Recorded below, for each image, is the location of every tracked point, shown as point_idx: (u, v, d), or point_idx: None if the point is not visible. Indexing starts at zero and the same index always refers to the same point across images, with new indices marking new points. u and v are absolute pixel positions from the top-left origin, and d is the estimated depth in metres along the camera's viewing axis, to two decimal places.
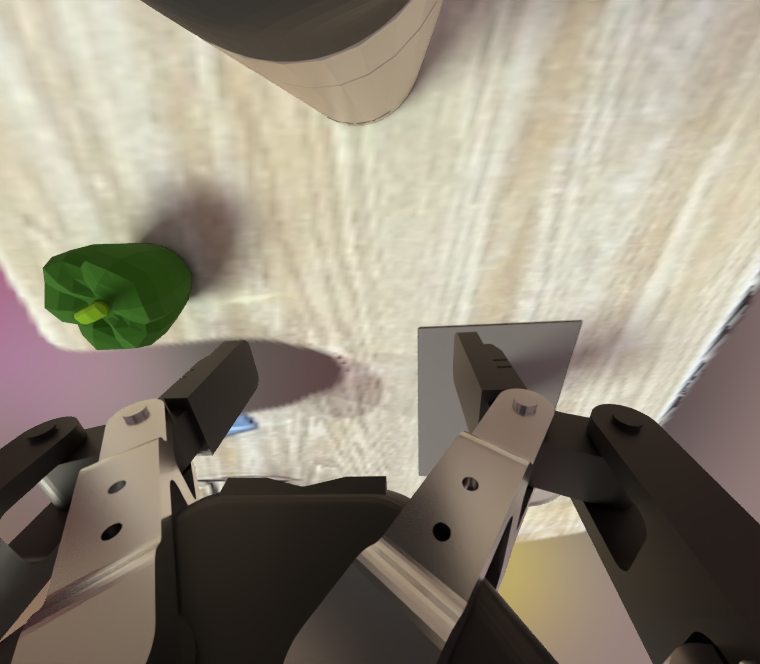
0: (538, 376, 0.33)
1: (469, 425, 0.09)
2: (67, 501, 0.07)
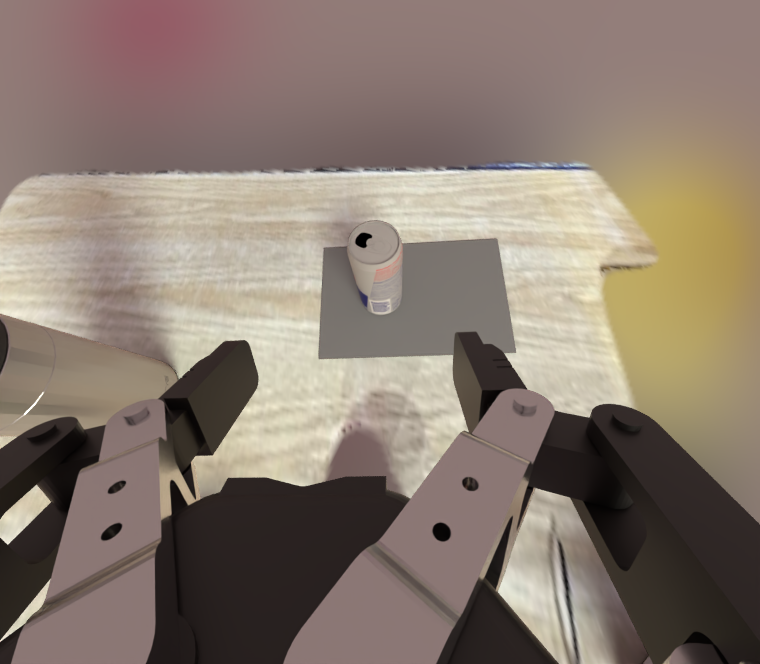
0: None
1: (469, 425, 0.09)
2: (67, 501, 0.07)
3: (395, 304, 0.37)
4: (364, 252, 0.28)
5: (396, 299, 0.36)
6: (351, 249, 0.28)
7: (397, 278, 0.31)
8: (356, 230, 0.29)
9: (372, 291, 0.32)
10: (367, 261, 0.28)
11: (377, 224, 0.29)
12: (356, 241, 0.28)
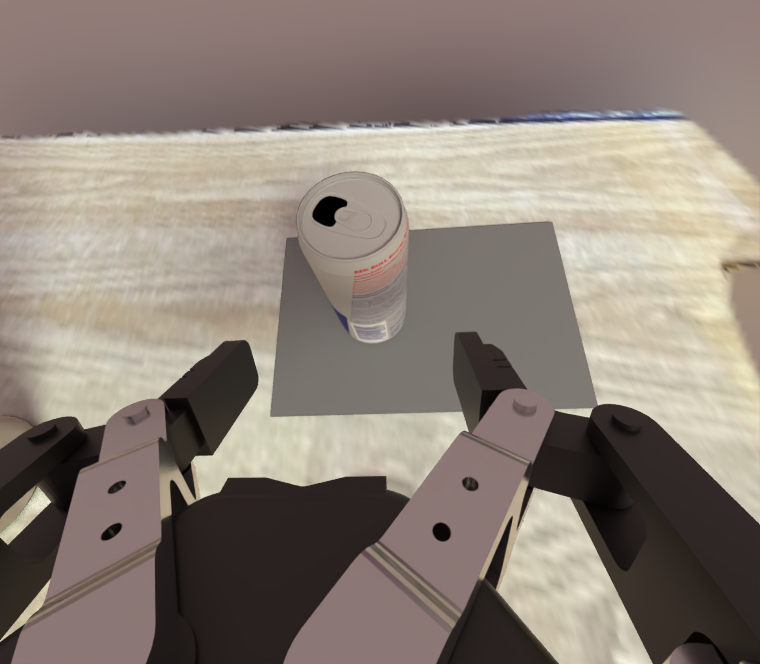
0: None
1: (469, 425, 0.09)
2: (67, 501, 0.07)
3: (396, 327, 0.22)
4: (331, 235, 0.13)
5: (397, 320, 0.21)
6: (303, 229, 0.14)
7: (399, 286, 0.17)
8: (315, 192, 0.14)
9: (352, 309, 0.17)
10: (336, 253, 0.13)
11: (358, 180, 0.14)
12: (314, 212, 0.14)
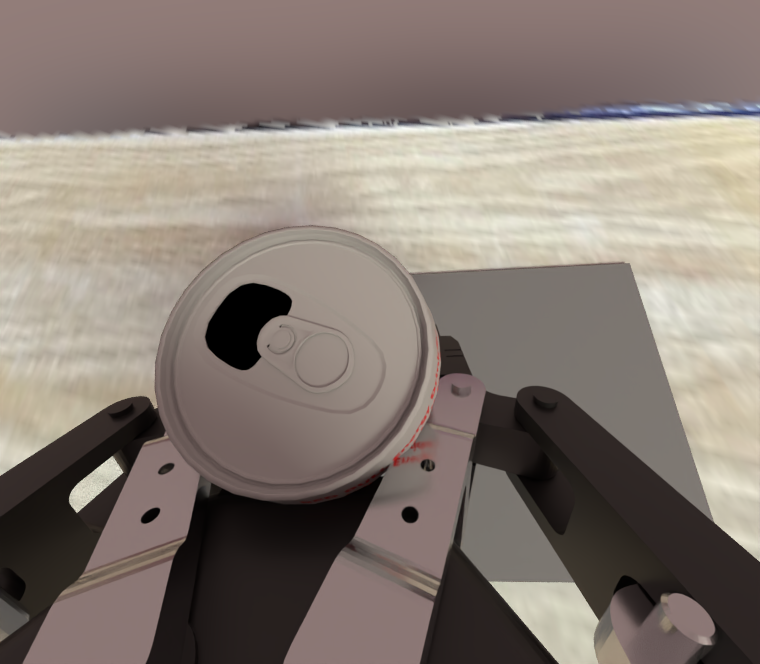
0: None
1: None
2: None
3: None
4: (242, 399, 0.05)
5: None
6: (175, 378, 0.05)
7: None
8: (219, 275, 0.06)
9: None
10: (250, 458, 0.05)
11: (319, 244, 0.06)
12: (212, 327, 0.06)
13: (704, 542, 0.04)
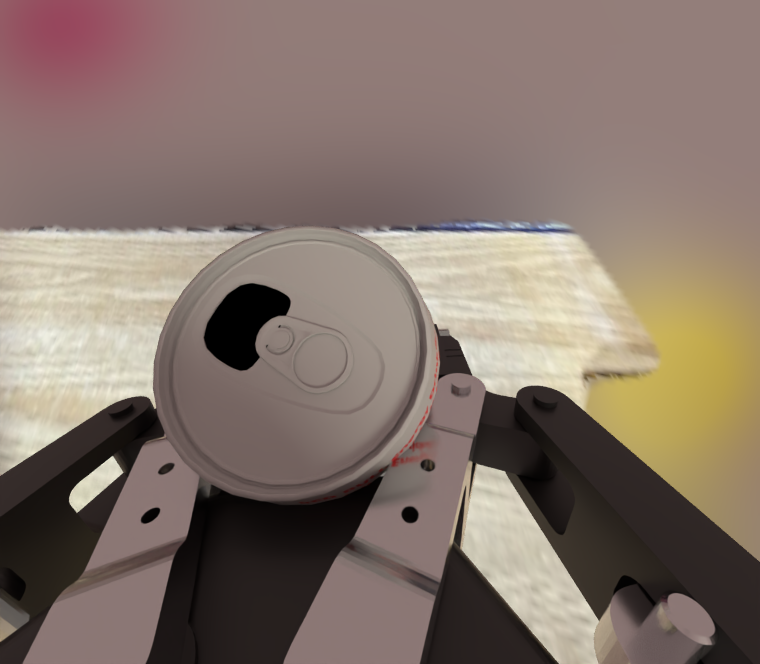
0: None
1: None
2: None
3: None
4: (241, 399, 0.05)
5: None
6: (174, 379, 0.05)
7: None
8: (217, 275, 0.06)
9: None
10: (248, 459, 0.05)
11: (318, 244, 0.06)
12: (211, 327, 0.06)
13: (704, 542, 0.04)
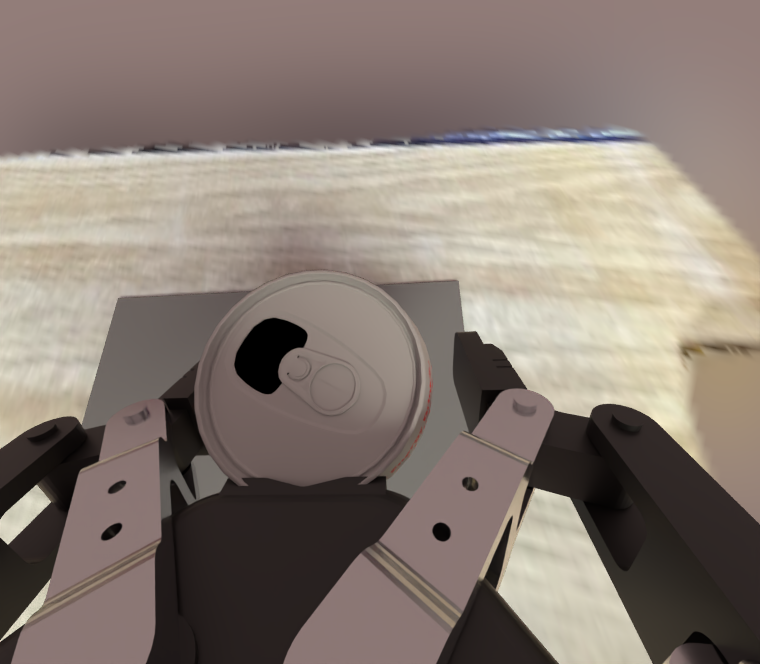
0: (200, 331, 0.20)
1: (469, 425, 0.09)
2: (67, 501, 0.07)
3: None
4: (267, 419, 0.06)
5: None
6: (210, 400, 0.06)
7: None
8: (245, 310, 0.07)
9: None
10: (273, 470, 0.06)
11: (331, 285, 0.07)
12: (240, 356, 0.07)
13: None
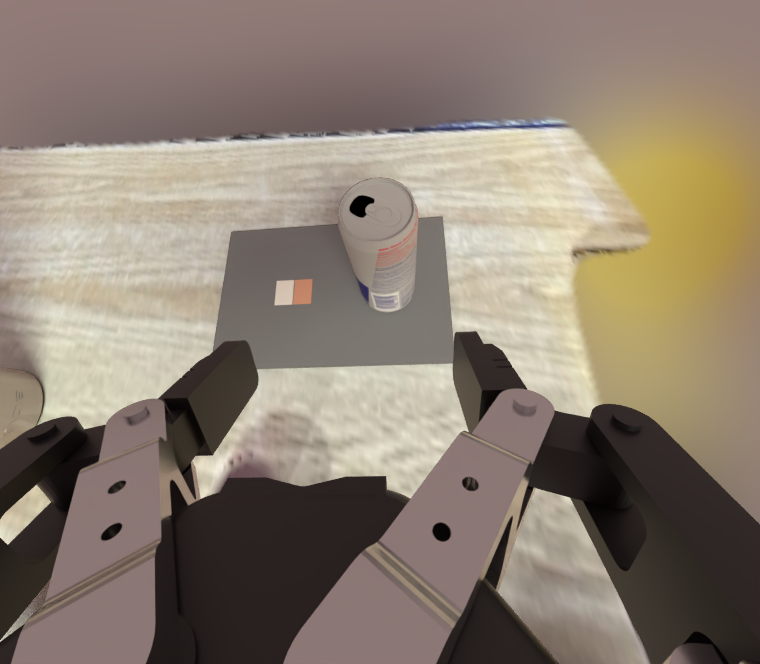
0: (285, 249, 0.33)
1: (469, 425, 0.09)
2: (67, 501, 0.07)
3: (406, 299, 0.28)
4: (362, 224, 0.19)
5: (407, 292, 0.27)
6: (343, 219, 0.19)
7: (409, 263, 0.22)
8: (351, 192, 0.20)
9: (374, 280, 0.23)
10: (366, 237, 0.19)
11: (382, 183, 0.20)
12: (351, 207, 0.20)
13: None
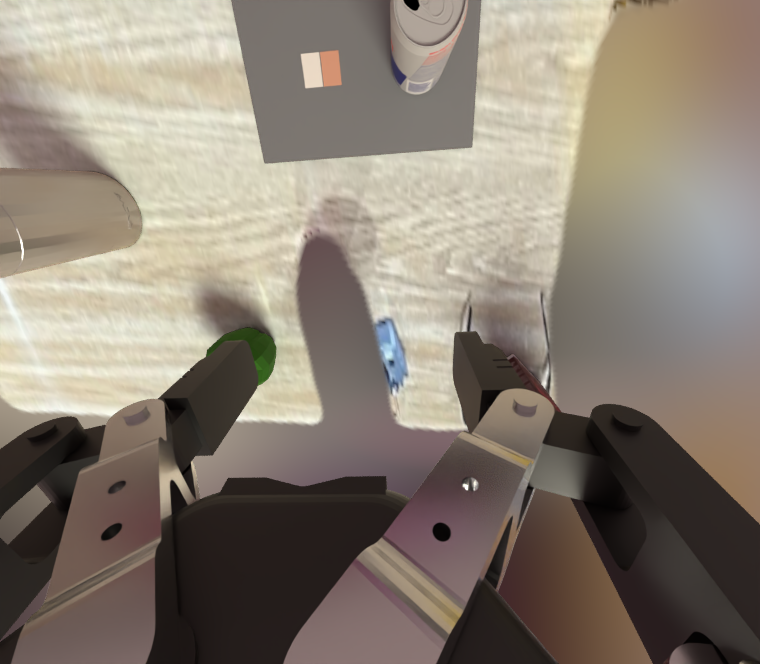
0: (299, 2, 0.29)
1: (469, 425, 0.09)
2: (67, 501, 0.07)
3: (436, 80, 0.30)
4: (416, 20, 0.21)
5: (439, 75, 0.29)
6: (398, 14, 0.20)
7: (450, 53, 0.24)
8: None
9: (415, 73, 0.26)
10: (419, 39, 0.21)
11: None
12: None
13: None
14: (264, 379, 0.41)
